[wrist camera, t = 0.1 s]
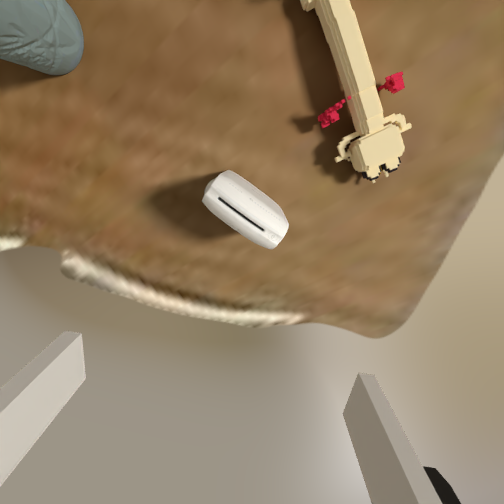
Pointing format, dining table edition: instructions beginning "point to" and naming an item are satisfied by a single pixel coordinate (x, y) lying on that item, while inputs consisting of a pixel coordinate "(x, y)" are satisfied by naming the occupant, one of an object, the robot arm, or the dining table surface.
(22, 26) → the teal plant pot
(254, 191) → the photo printer
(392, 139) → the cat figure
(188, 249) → the dining table surface
